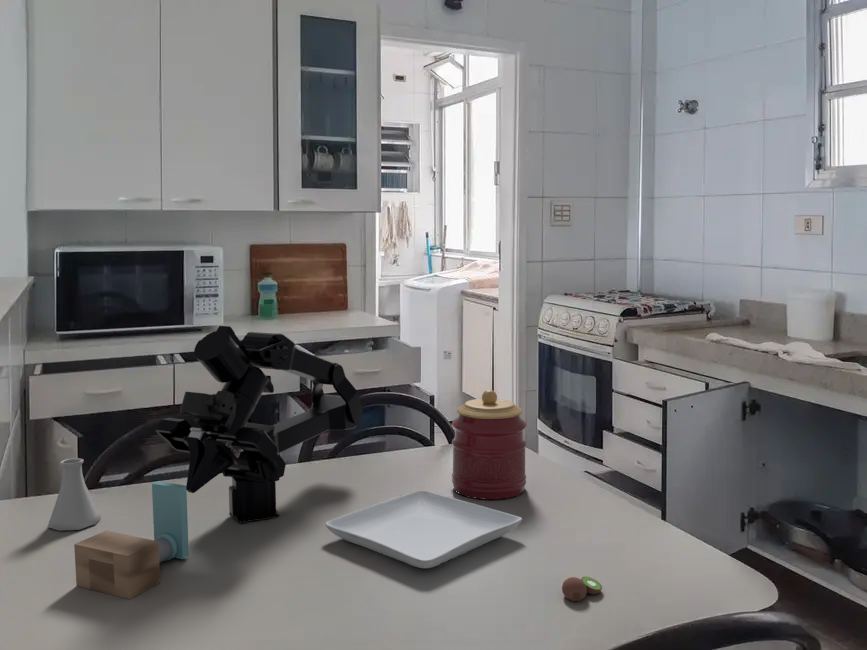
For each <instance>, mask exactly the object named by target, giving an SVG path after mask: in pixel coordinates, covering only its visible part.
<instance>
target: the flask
mask: <svg viewBox="0 0 867 650" xmlns="http://www.w3.org/2000/svg"><path fill="white" fill-rule="evenodd" d="M84 461H85V460H84V459H83V458H79V457H75V458H66V459H63V460H60V462H59V466H60V467H61V481H60V487H59V491H58V493H57V498H56V501H55V503H54V504H55V505H54V507H53V509H52V513H51V516H50V518H49V520H48V524H47V528H49V529H53V530H56V531H78V530H79V531H81V530H82V529H85V528H88V527H91V526H93V525H96V524H97V523H98V522H99V521H100V520H101V518H102V516H101V513H100V512H99V510H98V507H97V506H96V504H95V502H94V500H93V498H92V495H91V494H90V491H89V488H88V487H87V485H86V483H85V478H84V475H83V466H82V465H83V463H84Z"/></svg>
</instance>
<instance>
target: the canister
mask: <svg viewBox="0 0 867 650" xmlns="http://www.w3.org/2000/svg"><path fill="white" fill-rule="evenodd" d="M456 412H457V413H458V417H456V418H455V419H453V420H452V422H451V424H452V425H451V426H452V427H453V428H454V438H452V441H451V444H452V474H451V482H452V485H453V486H452V487H454V488H453V490H454V489H455V490H456V491H457V492H459V493H460V494H459V493H458V494H459V495H461V494H463V495H466V496H465V497H467V496H469V497H468V498H471V497H476V498H485V499H484V500H489V499H494V500H501V499H500V498H506V499H510V497H511V498H514V497H513V496H515V497H517V496H519V495H521V494H522V493H524V491H525V489H526V488H525V487H526V483H527V480H526V479H527V475H526V446H527V441H526V439H525V437H524V435H525V433H524V431H525V429H526V428H527V426H528V424H527V422H526V421H525V420H524V419H523V418H521V416H520V415H521V414H522V413H523V409H522V408H521V407H520V406H517V405H516V404H515V403H514V402H512V401H510V400H507V399H500V398H498V395H497V393H496V392H495V391H494V390H493V389H487V390H484V391H483V393H482V395H481V398H476V399H469V400H466V402H465V403H463V404H462V405H460V406H459V407H457V408H456ZM455 490H454V491H455ZM456 491H455V492H456ZM457 492H456V493H457ZM463 495H462V496H463ZM476 498H475V499H476Z"/></svg>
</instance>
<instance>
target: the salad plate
mask: <svg viewBox="0 0 867 650" xmlns="http://www.w3.org/2000/svg"><path fill="white" fill-rule="evenodd" d="M522 521H523V518H522V517H521V516H517V515H515V514H511V513H507V512H505V511H501V510H498V509H494V508H490V507H487V506H483V505H481V504H477V503H473V502H469V501H465V500H462V499H457V498H454V497H451V496H446V495H443V494H439V493H435V492H432V491H429V490H423V489H422V490H421V489H420V490H419V489H418V490H416V491H413V492H409V493H406V494H403V495H400V496H396V497H393V498H390V499H387V500H384V501H382V502H381V501H380V502H377V503H375V504H373V505H370V506H366V507H364V508H361V509H357V510H355V511H352V512H350V513H349V512H348V513H347V514H343V515H341V516H338V517H336V518H332V519H330V520H328V521H325V523H324V525H325V527H326V528H327V529H328V531H329V532H331V533H332V534H334V535H335V536H337V537H339V538H340V539H343V540H345V541H347V542H350V543H352V544H354V545H355V544H356V545H358V546H361V547H363V548H367V549H369V550H372V551H374V552H376V553H379V554H381V553H382V554H381V555H384V556H387V557H389V558H391V559H394V558H395V560H396V561H399V562H403V563H406V564H407V565H409V566H413V567H415V568H419V569H432V568H435V567H437V566H439V565H441V563H442V564H443V562H444V563H446V562H448V560H449V561H451V560H453V559H455V558H457V556H458V557H460V556H462V555H464V554H467V553H468V551H469V552H471V551H473V550H475V549H477V548H479V547H482V546H483V544H484V545H486V544H488V543H489V542H491V541H494V540H495V539H498V538H501V537H503V536H505V535H506V534H509V533H510V532H512V531H513V530H515V528H517V527H518V526H519V525H520V523H521V522H522ZM485 543H486V544H485ZM472 549H473V550H472ZM470 550H471V551H470ZM459 555H460V556H459ZM450 559H451V560H450Z"/></svg>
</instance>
